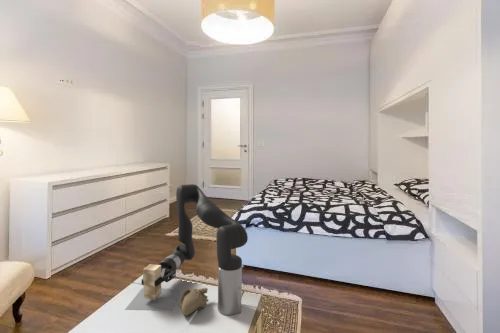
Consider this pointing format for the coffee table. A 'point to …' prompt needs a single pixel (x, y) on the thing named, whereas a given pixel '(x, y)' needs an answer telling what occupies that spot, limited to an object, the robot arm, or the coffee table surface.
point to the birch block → (151, 281)
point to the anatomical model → (193, 300)
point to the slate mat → (155, 301)
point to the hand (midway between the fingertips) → (149, 283)
